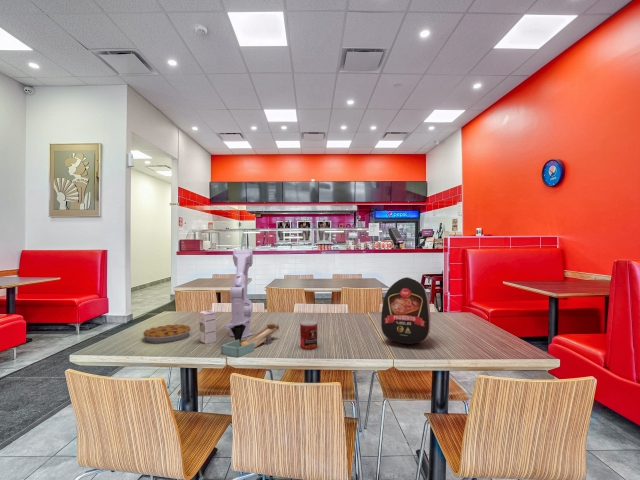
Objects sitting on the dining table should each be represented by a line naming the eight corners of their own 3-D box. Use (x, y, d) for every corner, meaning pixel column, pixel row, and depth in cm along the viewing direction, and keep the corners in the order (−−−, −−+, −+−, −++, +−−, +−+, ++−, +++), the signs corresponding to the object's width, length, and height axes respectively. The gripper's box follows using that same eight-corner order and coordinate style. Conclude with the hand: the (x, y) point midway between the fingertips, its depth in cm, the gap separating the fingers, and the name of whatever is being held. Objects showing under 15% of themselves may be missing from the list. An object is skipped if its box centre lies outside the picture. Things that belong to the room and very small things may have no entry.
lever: (232, 343, 150) (231, 337, 150) (257, 326, 165) (256, 321, 165) (254, 347, 143) (253, 342, 143) (279, 329, 158) (278, 324, 158)
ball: (242, 339, 143) (246, 343, 145) (238, 346, 141) (242, 350, 143) (247, 340, 141) (251, 344, 143) (243, 347, 139) (247, 351, 141)
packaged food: (379, 346, 144) (378, 279, 145) (385, 334, 163) (384, 275, 163) (430, 351, 137) (429, 280, 137) (431, 338, 155) (430, 276, 156)
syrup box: (216, 341, 154) (216, 311, 155) (204, 344, 150) (204, 313, 150) (210, 339, 158) (210, 309, 158) (199, 341, 154) (199, 311, 154)
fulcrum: (252, 342, 153) (252, 334, 153) (258, 339, 156) (258, 332, 156) (267, 344, 148) (267, 337, 148) (272, 342, 151) (272, 335, 151)
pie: (149, 347, 147) (149, 336, 147) (138, 337, 163) (138, 327, 163) (197, 338, 161) (197, 328, 161) (182, 329, 178) (182, 320, 178)
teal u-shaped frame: (221, 353, 137) (221, 345, 137) (238, 347, 145) (238, 339, 145) (237, 357, 132) (237, 348, 132) (254, 350, 140) (254, 342, 140)
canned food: (304, 350, 139) (304, 325, 139) (297, 345, 146) (297, 321, 146) (320, 348, 143) (320, 323, 143) (312, 343, 150) (312, 319, 150)
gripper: (232, 316, 141) (232, 347, 141) (255, 310, 154) (255, 338, 154) (221, 314, 145) (221, 344, 145) (244, 308, 157) (244, 336, 157)
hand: (238, 341), depth 149 cm, fingers closed
